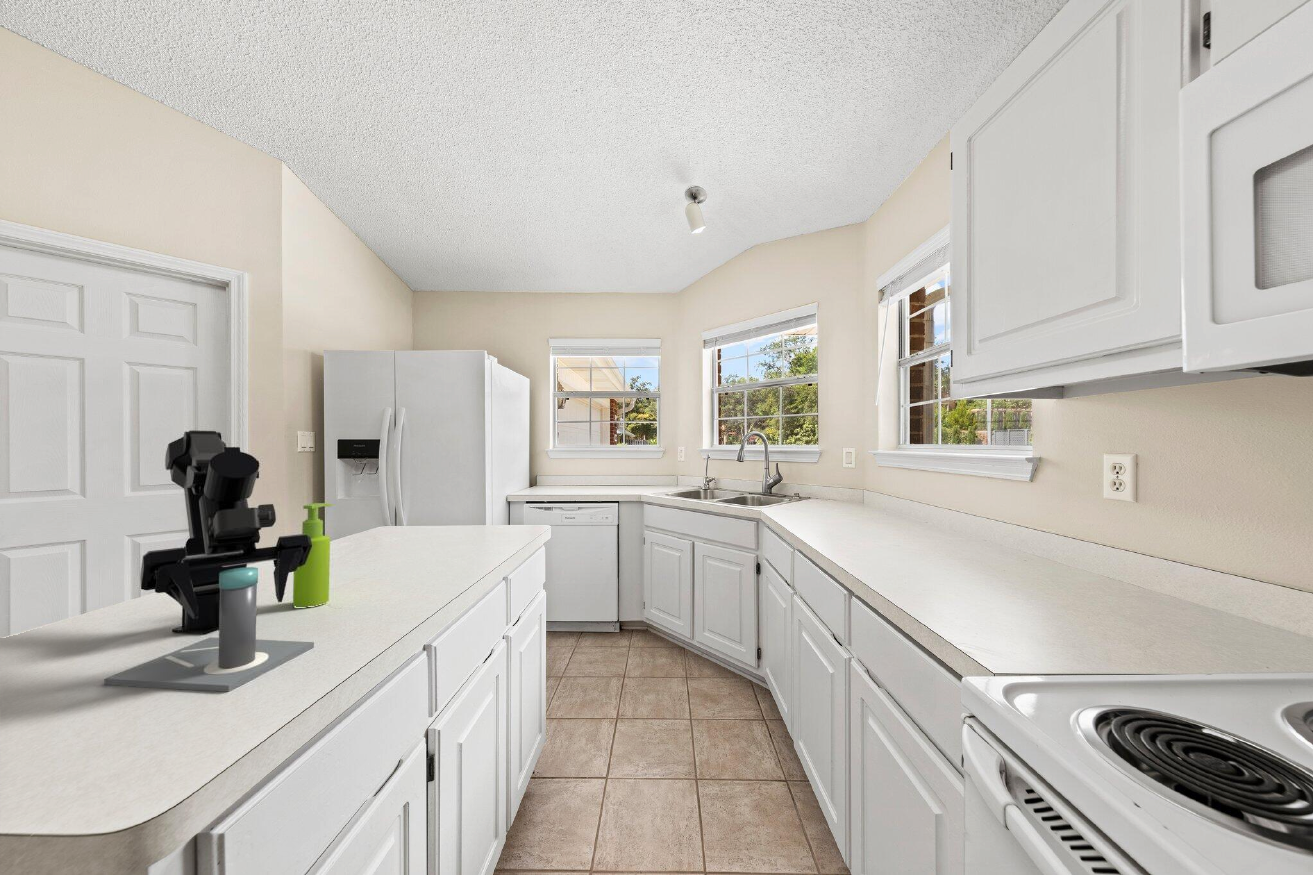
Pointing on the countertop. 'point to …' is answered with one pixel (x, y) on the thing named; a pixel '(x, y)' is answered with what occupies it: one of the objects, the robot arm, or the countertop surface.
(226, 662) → the marker
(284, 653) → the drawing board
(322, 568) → the soap dispenser
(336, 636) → the countertop surface
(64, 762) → the countertop surface
